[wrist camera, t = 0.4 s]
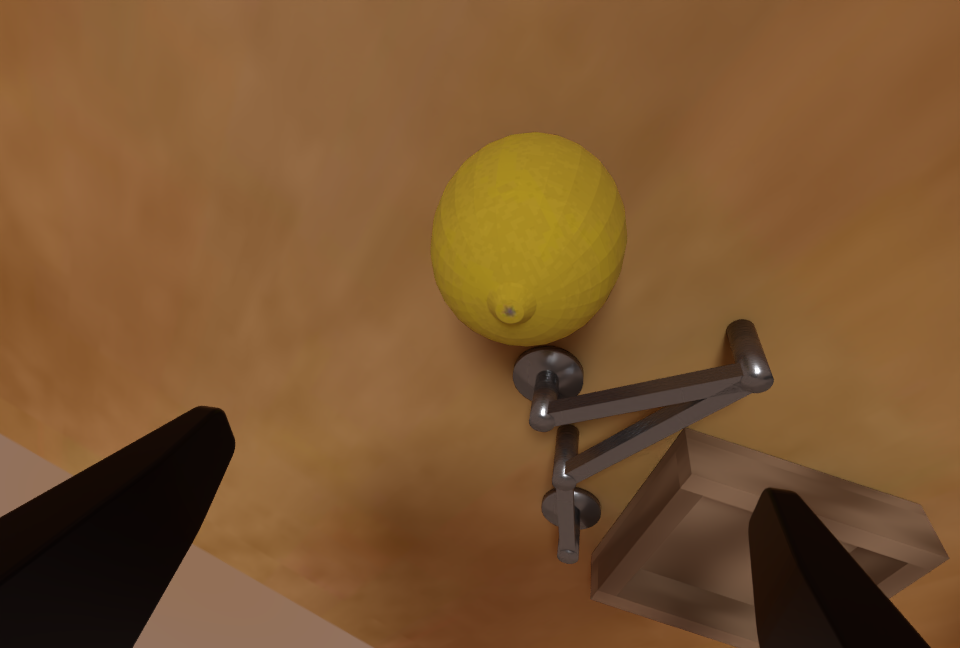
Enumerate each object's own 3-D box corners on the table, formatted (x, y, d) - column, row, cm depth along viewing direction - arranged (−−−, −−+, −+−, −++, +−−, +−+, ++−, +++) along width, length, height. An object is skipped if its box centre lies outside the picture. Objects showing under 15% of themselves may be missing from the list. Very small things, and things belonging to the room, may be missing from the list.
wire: (760, 324, 21) (779, 376, 19) (605, 535, 30) (605, 588, 28) (558, 257, 21) (551, 301, 19) (464, 489, 30) (451, 538, 28)
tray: (920, 504, 25) (949, 558, 23) (778, 615, 31) (789, 664, 29) (684, 427, 25) (691, 474, 23) (591, 554, 31) (590, 599, 29)
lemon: (657, 191, 19) (682, 330, 13) (536, 280, 22) (505, 430, 15) (548, 62, 17) (513, 146, 11) (432, 177, 20) (350, 297, 14)
